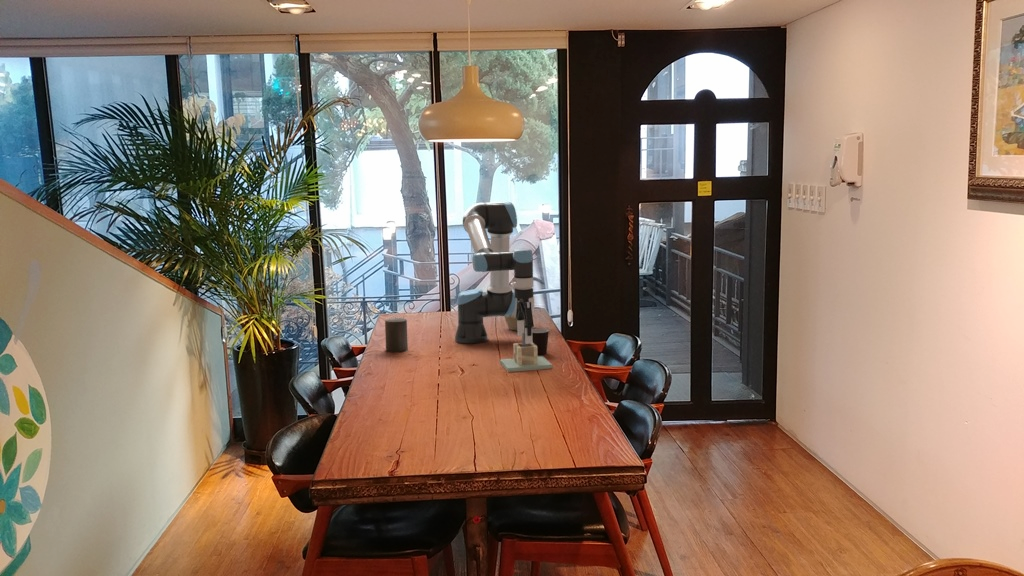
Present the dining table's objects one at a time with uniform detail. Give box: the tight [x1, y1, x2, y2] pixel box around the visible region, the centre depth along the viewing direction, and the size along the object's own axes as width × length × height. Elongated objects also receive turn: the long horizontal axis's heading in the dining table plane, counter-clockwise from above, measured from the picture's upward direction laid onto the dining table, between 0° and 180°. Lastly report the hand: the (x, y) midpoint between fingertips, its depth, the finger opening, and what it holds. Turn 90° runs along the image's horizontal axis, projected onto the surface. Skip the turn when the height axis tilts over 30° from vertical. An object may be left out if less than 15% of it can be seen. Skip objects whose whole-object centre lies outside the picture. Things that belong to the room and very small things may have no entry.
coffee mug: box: [532, 328, 550, 356], centre depth 346 cm, size 12×9×10 cm
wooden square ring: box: [512, 342, 539, 365], centre depth 325 cm, size 8×8×7 cm
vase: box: [503, 281, 535, 332], centre depth 395 cm, size 16×16×23 cm
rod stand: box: [499, 331, 553, 373], centre depth 324 cm, size 15×18×14 cm
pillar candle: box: [384, 316, 409, 353], centre depth 358 cm, size 10×10×15 cm
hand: (524, 339), depth 324 cm, fingers open, 13 cm apart
